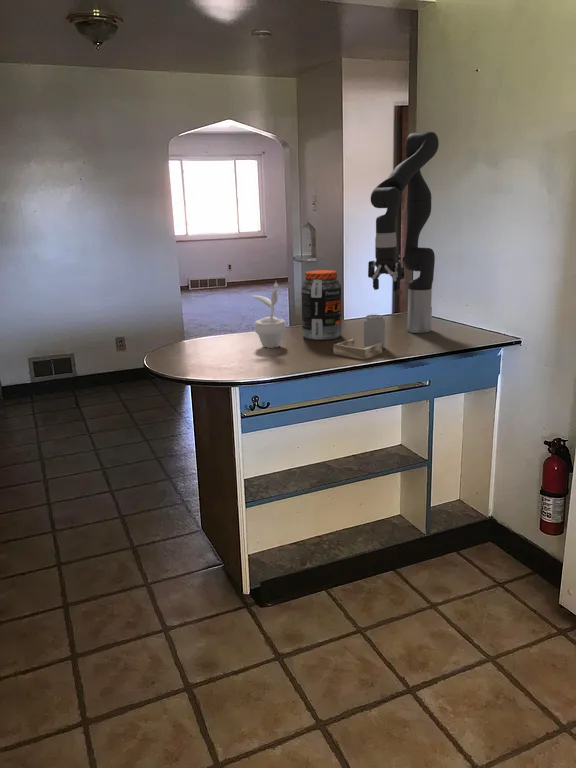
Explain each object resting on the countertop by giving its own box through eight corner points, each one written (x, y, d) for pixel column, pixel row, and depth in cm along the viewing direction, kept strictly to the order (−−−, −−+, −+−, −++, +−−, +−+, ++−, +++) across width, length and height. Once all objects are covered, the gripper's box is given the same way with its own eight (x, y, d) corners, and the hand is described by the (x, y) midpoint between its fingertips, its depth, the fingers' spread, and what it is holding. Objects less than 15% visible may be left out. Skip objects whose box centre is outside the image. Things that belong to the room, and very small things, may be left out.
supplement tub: (331, 342, 243) (329, 274, 236) (295, 339, 251) (293, 273, 243) (348, 333, 256) (347, 269, 249) (313, 330, 264) (312, 268, 256)
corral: (351, 347, 234) (351, 338, 233) (381, 353, 225) (382, 343, 224) (333, 354, 226) (333, 344, 225) (364, 359, 217) (364, 349, 216)
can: (383, 350, 228) (384, 317, 225) (363, 350, 230) (363, 317, 226) (385, 345, 235) (385, 313, 232) (364, 345, 237) (364, 313, 233)
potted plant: (291, 343, 243) (289, 278, 236) (278, 351, 233) (275, 283, 226) (262, 341, 248) (259, 277, 241) (248, 348, 238) (244, 282, 231)
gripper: (408, 244, 225) (408, 290, 230) (375, 243, 234) (375, 287, 239) (397, 247, 220) (396, 293, 225) (363, 246, 229) (364, 290, 234)
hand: (386, 290), depth 232 cm, fingers open, 8 cm apart
